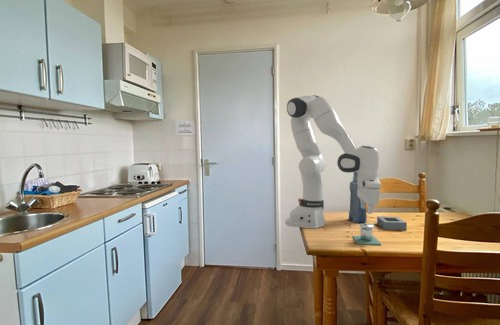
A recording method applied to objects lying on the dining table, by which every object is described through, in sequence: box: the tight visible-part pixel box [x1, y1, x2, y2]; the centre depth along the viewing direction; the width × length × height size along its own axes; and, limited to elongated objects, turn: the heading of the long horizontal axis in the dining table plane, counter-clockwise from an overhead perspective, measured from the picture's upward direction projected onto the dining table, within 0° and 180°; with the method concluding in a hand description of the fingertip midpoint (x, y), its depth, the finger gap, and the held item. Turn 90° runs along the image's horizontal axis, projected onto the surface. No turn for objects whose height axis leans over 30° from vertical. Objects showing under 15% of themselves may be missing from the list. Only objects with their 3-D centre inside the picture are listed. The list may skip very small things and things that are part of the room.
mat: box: [352, 235, 382, 246], centre depth 126 cm, size 10×10×1 cm
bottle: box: [348, 172, 367, 224], centre depth 158 cm, size 10×10×30 cm
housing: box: [376, 216, 408, 231], centre depth 147 cm, size 11×11×4 cm
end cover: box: [359, 222, 375, 242], centre depth 126 cm, size 6×6×7 cm
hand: (366, 210), depth 125 cm, fingers open, 8 cm apart
